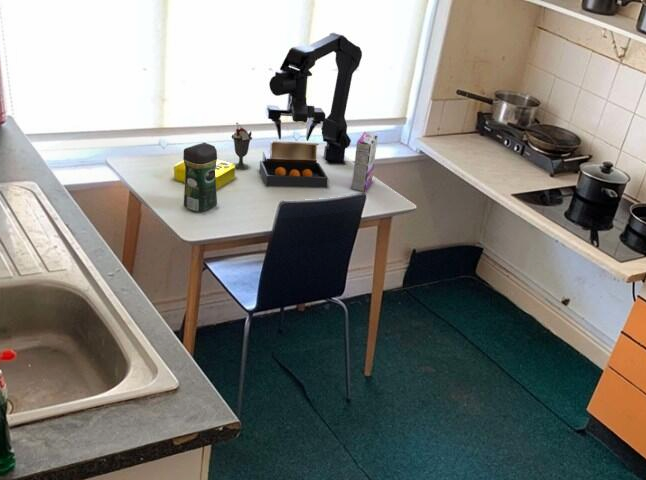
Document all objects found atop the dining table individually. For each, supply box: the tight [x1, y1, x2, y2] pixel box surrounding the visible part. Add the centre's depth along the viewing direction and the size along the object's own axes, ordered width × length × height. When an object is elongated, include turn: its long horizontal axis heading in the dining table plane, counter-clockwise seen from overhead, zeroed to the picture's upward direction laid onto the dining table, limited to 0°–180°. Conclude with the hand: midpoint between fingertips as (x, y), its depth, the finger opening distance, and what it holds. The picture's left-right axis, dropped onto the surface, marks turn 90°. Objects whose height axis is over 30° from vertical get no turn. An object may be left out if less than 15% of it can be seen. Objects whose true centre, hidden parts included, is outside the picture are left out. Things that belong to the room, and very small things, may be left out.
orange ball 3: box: [302, 169, 312, 177], centre depth 254 cm, size 4×4×4 cm
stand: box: [262, 150, 318, 163], centre depth 258 cm, size 17×7×6 cm, turn 107°
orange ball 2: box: [289, 169, 300, 176], centre depth 252 cm, size 4×4×4 cm
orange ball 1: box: [275, 167, 286, 176], centre depth 252 cm, size 4×4×4 cm
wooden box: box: [269, 140, 319, 160], centre depth 250 cm, size 15×6×6 cm
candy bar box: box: [351, 131, 379, 193], centre depth 254 cm, size 11×5×16 cm, turn 168°
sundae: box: [231, 122, 253, 171], centre depth 252 cm, size 7×7×15 cm
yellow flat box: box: [173, 159, 236, 190], centre depth 243 cm, size 15×15×5 cm
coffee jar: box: [182, 142, 218, 213], centre depth 221 cm, size 10×8×19 cm
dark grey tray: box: [259, 160, 329, 189], centre depth 254 cm, size 20×13×4 cm, turn 107°
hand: (293, 139), depth 251 cm, fingers open, 9 cm apart
